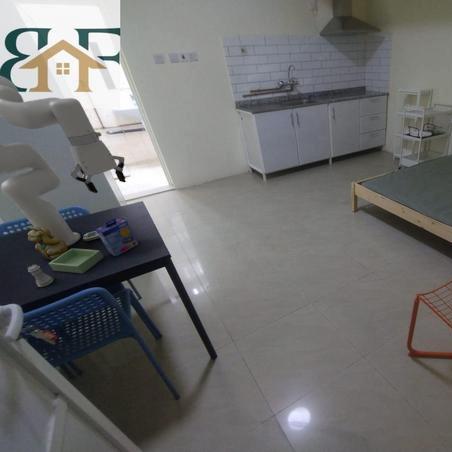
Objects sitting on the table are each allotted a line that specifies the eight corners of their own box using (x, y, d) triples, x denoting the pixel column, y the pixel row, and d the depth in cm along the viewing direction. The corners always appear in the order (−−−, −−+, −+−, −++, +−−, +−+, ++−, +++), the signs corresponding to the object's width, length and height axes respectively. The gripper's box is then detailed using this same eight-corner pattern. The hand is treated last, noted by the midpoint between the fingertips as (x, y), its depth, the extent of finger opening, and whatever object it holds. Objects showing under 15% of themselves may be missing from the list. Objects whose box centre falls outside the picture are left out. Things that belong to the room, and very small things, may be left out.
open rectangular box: (53, 270, 108) (48, 263, 106) (76, 255, 116) (71, 248, 114) (82, 273, 106) (77, 266, 104) (104, 257, 114) (99, 250, 112)
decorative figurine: (39, 259, 115) (15, 229, 106) (61, 247, 121) (39, 218, 113) (56, 262, 112) (31, 232, 104) (76, 250, 119) (55, 220, 110)
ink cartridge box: (116, 257, 113) (98, 227, 105) (109, 253, 116) (90, 224, 108) (140, 243, 120) (124, 215, 113) (132, 240, 123) (116, 212, 115)
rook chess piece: (35, 286, 101) (20, 269, 97) (49, 277, 105) (36, 261, 100) (42, 288, 100) (28, 272, 95) (56, 280, 103) (43, 264, 99)
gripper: (105, 132, 100) (127, 176, 109) (47, 146, 87) (77, 195, 97) (117, 133, 97) (138, 179, 106) (58, 148, 84) (88, 198, 94)
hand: (109, 186), depth 101 cm, fingers open, 9 cm apart
